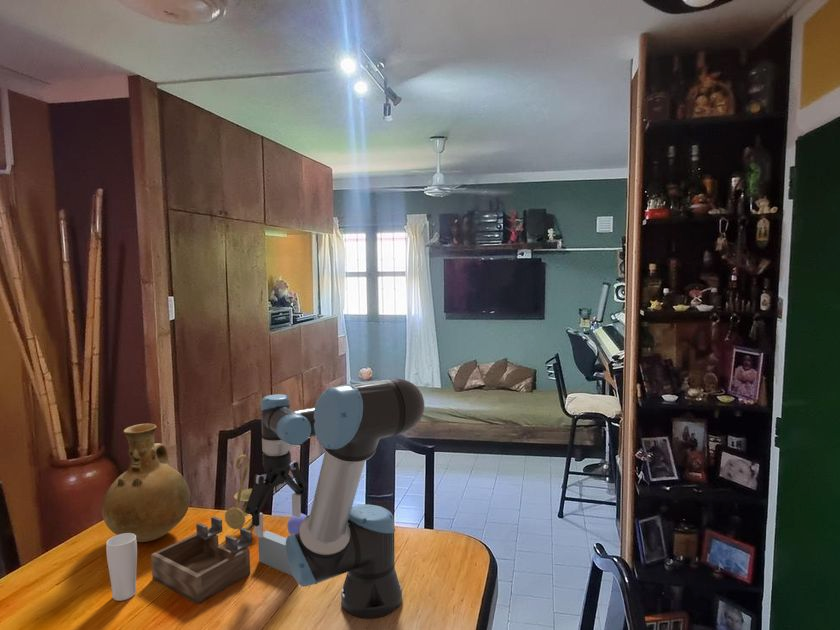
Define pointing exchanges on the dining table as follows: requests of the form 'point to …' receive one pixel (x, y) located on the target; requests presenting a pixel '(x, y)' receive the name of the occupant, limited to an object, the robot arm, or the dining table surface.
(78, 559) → the dining table surface
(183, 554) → the box
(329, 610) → the dining table surface
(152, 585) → the dining table surface
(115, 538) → the drinking glass
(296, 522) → the sphere
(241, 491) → the wall sconce
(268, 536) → the door
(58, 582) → the dining table surface
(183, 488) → the vase
